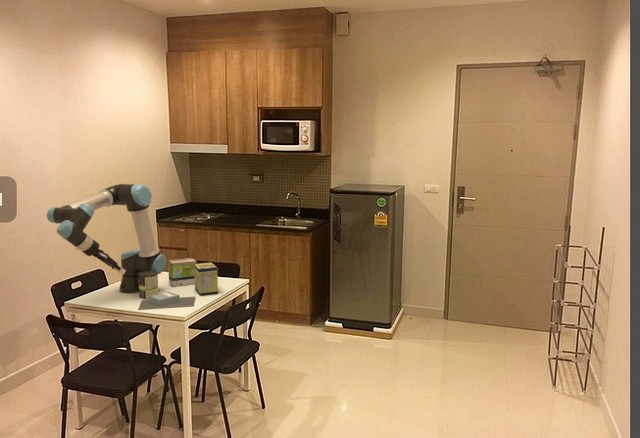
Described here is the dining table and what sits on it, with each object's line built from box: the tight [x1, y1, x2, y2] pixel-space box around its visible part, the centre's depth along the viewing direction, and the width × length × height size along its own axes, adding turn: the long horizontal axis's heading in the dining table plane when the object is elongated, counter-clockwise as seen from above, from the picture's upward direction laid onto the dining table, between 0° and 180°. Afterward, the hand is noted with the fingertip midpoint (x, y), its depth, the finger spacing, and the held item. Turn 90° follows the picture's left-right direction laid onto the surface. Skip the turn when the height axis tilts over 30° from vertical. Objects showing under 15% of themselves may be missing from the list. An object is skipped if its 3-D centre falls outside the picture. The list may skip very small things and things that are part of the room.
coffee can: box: [138, 271, 159, 300], centre depth 278 cm, size 10×10×14 cm
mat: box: [137, 296, 196, 311], centre depth 266 cm, size 18×28×1 cm, turn 102°
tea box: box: [167, 257, 198, 288], centre depth 306 cm, size 15×10×15 cm, turn 120°
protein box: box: [194, 261, 219, 297], centre depth 289 cm, size 10×16×16 cm
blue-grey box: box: [150, 291, 181, 306], centre depth 268 cm, size 4×10×12 cm
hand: (123, 272), depth 251 cm, fingers closed
